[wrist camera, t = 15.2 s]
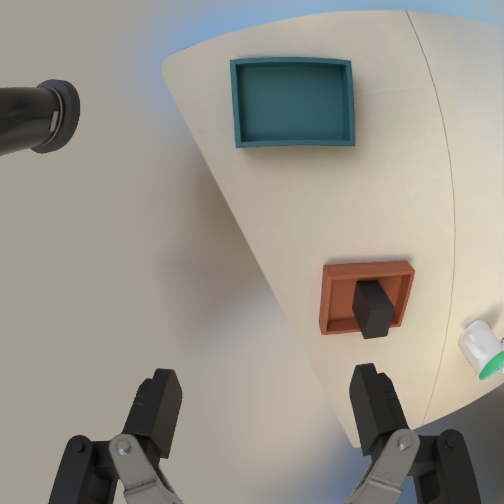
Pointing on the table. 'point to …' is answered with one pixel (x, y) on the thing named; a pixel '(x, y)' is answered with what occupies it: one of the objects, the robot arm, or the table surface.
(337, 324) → the terracotta bin
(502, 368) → the light blue folded towel
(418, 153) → the table surface
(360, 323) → the block
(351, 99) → the teal bin
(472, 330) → the mug
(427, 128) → the table surface
